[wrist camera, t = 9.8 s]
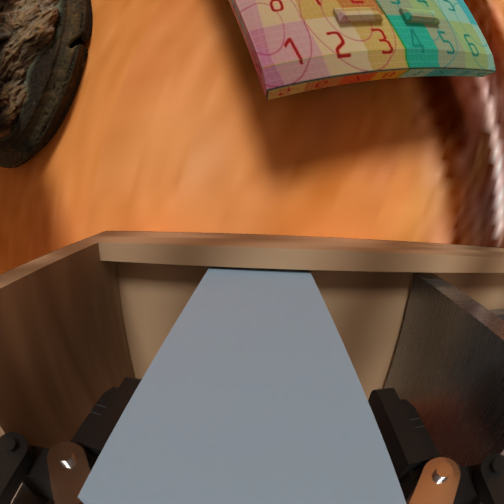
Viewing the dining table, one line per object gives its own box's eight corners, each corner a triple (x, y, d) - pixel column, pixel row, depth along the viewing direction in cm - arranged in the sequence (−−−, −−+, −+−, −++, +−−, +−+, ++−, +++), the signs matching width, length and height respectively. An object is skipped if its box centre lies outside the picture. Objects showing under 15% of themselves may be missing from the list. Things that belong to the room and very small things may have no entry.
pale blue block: (306, 263, 12) (410, 516, 2) (289, 401, 14) (301, 587, 4) (214, 259, 13) (77, 497, 2) (217, 397, 15) (178, 580, 4)
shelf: (527, 250, 13) (632, 300, 3) (490, 371, 15) (556, 451, 5) (106, 231, 14) (-65, 308, 3) (130, 383, 16) (58, 509, 6)
